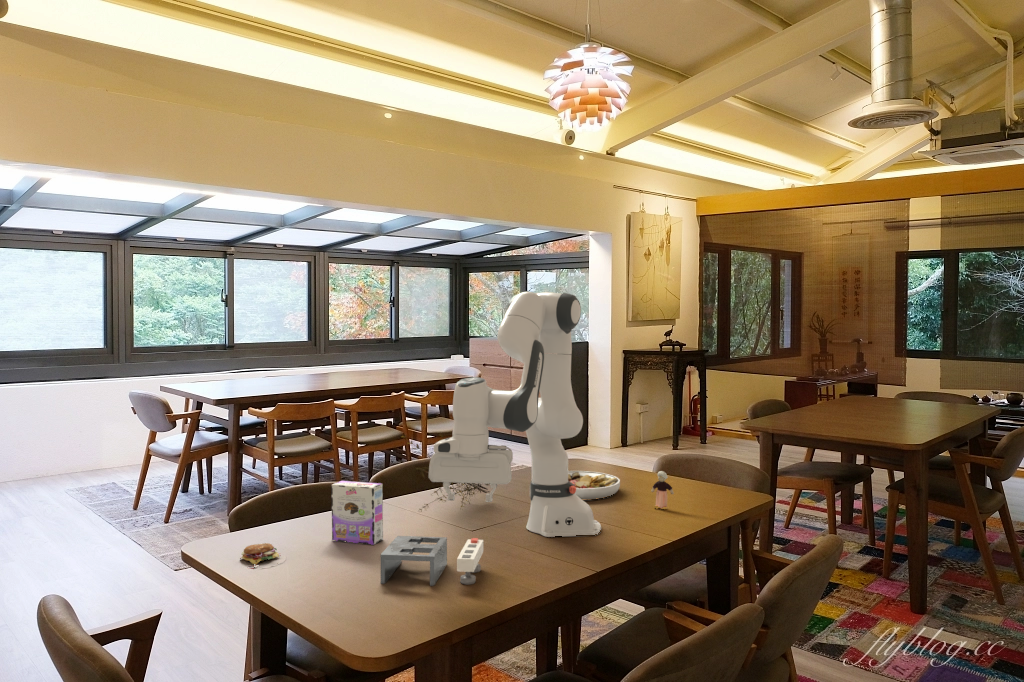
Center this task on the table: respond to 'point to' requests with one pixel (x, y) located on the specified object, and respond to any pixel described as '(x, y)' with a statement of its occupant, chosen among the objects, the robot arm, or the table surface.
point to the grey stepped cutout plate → (414, 555)
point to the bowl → (593, 484)
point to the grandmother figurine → (662, 490)
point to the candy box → (357, 512)
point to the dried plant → (455, 483)
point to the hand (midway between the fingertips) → (470, 500)
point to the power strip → (470, 560)
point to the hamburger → (259, 553)
